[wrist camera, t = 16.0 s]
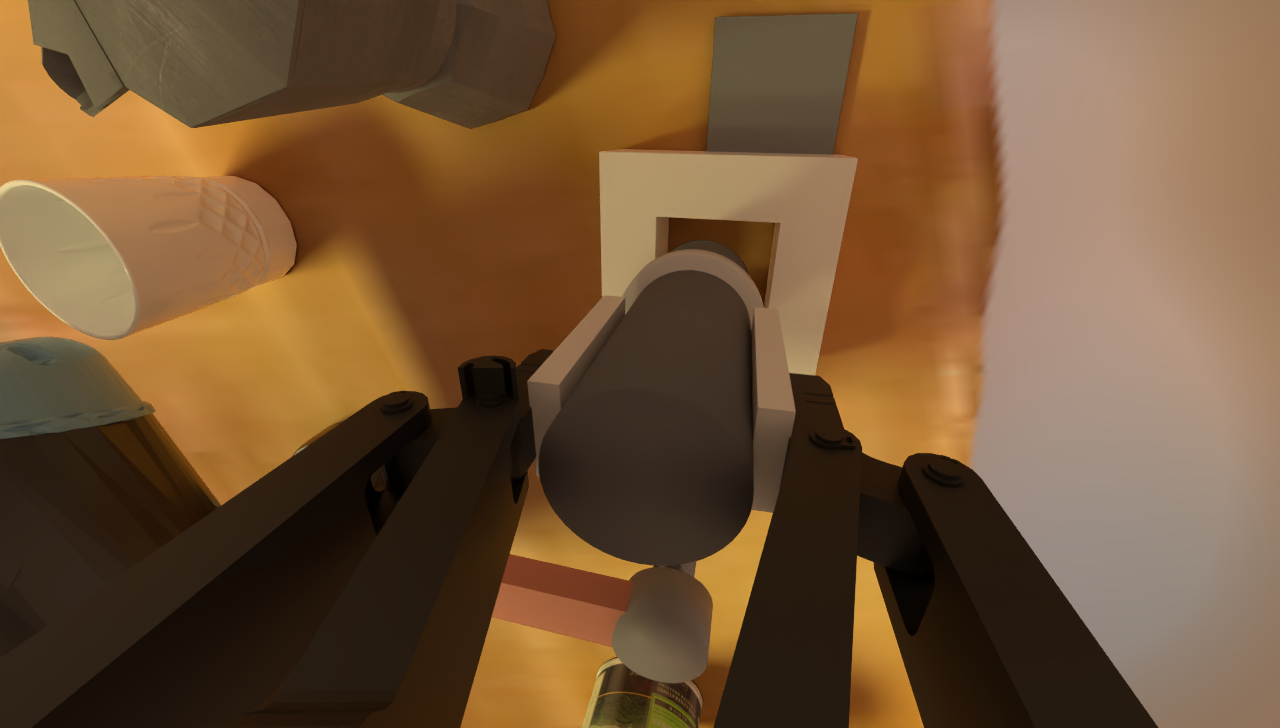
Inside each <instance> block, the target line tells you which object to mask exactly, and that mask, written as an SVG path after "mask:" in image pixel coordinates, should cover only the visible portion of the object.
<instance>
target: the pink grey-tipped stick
mask: <svg viewBox="0 0 1280 728" xmlns="http://www.w3.org/2000/svg"><path fill="white" fill-rule="evenodd" d="M712 608H713V603H712V598H711V596H710V594H709V592H708V590H707V589H706V588H705V587H704V585H703V584H702V583H700V582H699V581H698V580H697V579H695V578H694V577H692V576H691V575H689V574H687V573H684V572H682V571H679V570H676V569H672V568H665V567H653V568H648V569H644V570H641V571H639V572H637V573H636V574H635V575H633V576H632V577H631V578H630V580H629V581H627V580H623V579H618V578H614V577H609V576H605V575H601V574H596V573H592V572H587V571H583V570H578V569H574V568H569V567H565V566H560V565H556V564H552V563H547V562H543V561H538V560H534V559H529V558H525V557H520V556H516V555H511V554H509V557H508V561H507V564H506V568H505V572H504V575H503V579H502V582H501V586H500V589H499V593H498V596H497V600H496V603H495V607H494V610H493V614H492V617H494V618H498V619H502V620H506V621H510V622H514V623H518V624H522V625H526V626H530V627H534V628H538V629H542V630H546V631H550V632H554V633H558V634H562V635H566V636H570V637H574V638H578V639H582V640H586V641H590V642H594V643H598V644H602V645H606V646H610V647H613V649H614V652H615V654H616V655H617V657H618V658H619V659H620V661H621V662H622V663H623V664H624V665H626V666H627V667H628V668H629V669H631V670H632V671H634V672H635V673H637V674H639V675H641V676H643V677H646V678H648V679H651V680H655V681H659V682H665V683H682V682H687V681H691V680H693V679H695V678H697V677H699V676H700V675H701V674H702V673H703V672H704V671H705V669H706V667H707V664H708V653H709V642H710V631H711V620H712Z"/></svg>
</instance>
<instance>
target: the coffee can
mask: <svg viewBox="0 0 1280 728" xmlns="http://www.w3.org/2000/svg"><path fill="white" fill-rule="evenodd" d="M702 704H703V701H702V697H701V694H700V692H699V690H698V688H697V687H696V685H695V684H694V683H693V681H692V680H691V681H687V682H682V683H665V682H659V681H655V680H651V679H648V678H646V677H643V676H641V675H639V674H637V673H635V672H634V671H632V670H631V669H629V668H628V667H627V666H626V665H624V664H623V663H622V662H621V661H620V659H619V658H618V657H617V658H614V659H611V660H609V661H607V662H606V663H604V664H603V665H602V666H601V668H600V669H599V671H598V673H597V676H596V682H595V686H594V690H593V693H592V696H591V700H590V703H589V706H588V710H587V713H586V716H585V720H584V723H583V726H582V728H699V725H700V715H701V710H702Z"/></svg>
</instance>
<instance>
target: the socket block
mask: <svg viewBox="0 0 1280 728" xmlns="http://www.w3.org/2000/svg"><path fill="white" fill-rule="evenodd" d="M857 162H858V158H855V157H851V156H847V155H843V154H833V155H829V154H789V153H748V152H708V151H682V150H641V149H617V150H609V151H600V152H599V170H600V219H601V269H602V297H603V296H604V295H607V296H619V297H622V296H623V294H624V292H625V290H626V288H627V287H628V286H629V284H630V283H631V281H632V280H633V279H634V278H635V276H636V275H637V274H638V273H639V272H640V271H641V270H642V269H643V268H644V267H645V266H646V265H647V264H649V263H650V262H651V261H653V260H655V259H656V258H658V257H660V256H662V255H665V254H667V253H668V235H669V217H674V218H694V219H714V220H734V221H753V222H773V223H775V227H774V235H773V242H772V249H771V257H770V264H769V271H768V279H767V286H766V294H765V301H764V308H771V309H778V312H779V318H780V324H781V329H782V335H783V341H784V347H785V353H786V358H787V364H788V370H789V373H796V374H806V375H815V374H816V369H817V364H818V358H819V353H820V348H821V343H822V338H823V333H824V328H825V323H826V318H827V313H828V308H829V303H830V298H831V293H832V288H833V283H834V278H835V273H836V268H837V263H838V258H839V253H840V248H841V242H842V237H843V232H844V227H845V222H846V217H847V212H848V207H849V202H850V197H851V192H852V187H853V182H854V177H855V172H856V167H857Z"/></svg>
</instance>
